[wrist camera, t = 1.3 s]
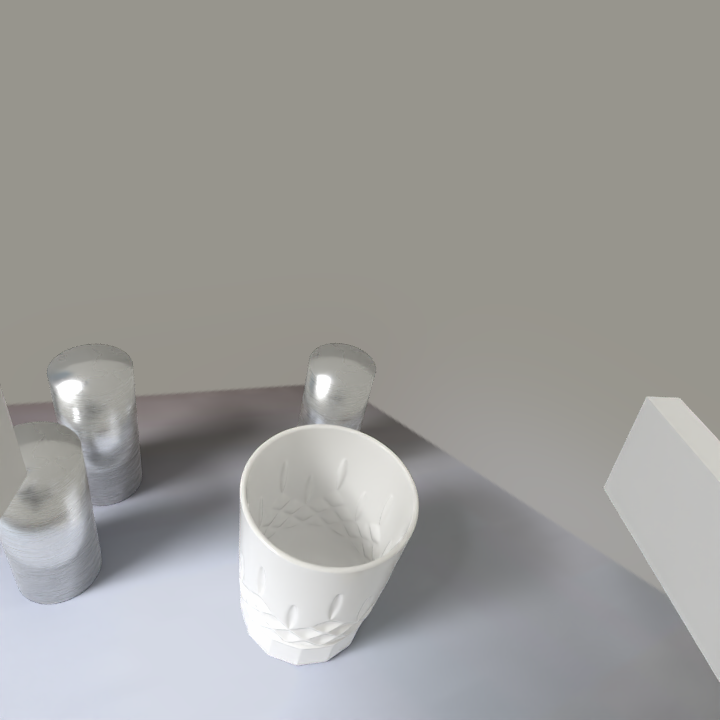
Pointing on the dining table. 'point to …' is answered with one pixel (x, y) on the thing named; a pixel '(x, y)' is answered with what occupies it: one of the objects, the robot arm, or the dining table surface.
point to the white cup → (319, 537)
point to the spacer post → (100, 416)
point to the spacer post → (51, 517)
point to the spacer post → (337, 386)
